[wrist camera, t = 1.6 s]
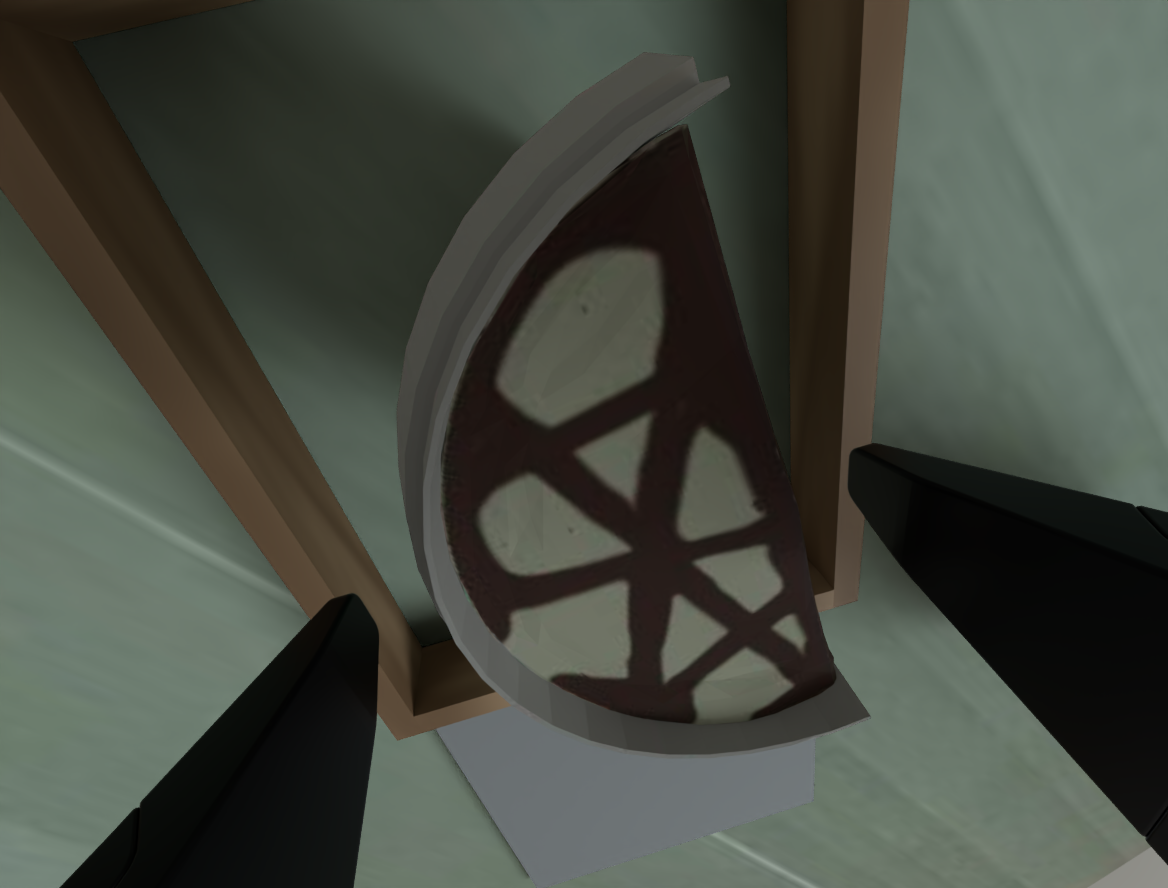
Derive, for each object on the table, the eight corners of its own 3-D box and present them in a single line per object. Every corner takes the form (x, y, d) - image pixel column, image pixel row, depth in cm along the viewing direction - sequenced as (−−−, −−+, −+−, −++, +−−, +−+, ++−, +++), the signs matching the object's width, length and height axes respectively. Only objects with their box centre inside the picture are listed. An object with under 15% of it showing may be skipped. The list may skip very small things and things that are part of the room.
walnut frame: (828, -196, 11) (936, -310, 8) (813, 549, 22) (857, 600, 19) (-14, -9, 10) (-186, -71, 8) (407, 670, 21) (397, 740, 18)
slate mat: (812, 597, 23) (819, 607, 23) (808, 790, 32) (813, 801, 32) (433, 711, 23) (432, 724, 22) (537, 878, 31) (538, 890, 31)
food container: (344, 225, 13) (77, 330, 4) (557, 116, 13) (712, 1, 4) (548, 544, 19) (602, 848, 11) (695, 475, 19) (874, 731, 10)
